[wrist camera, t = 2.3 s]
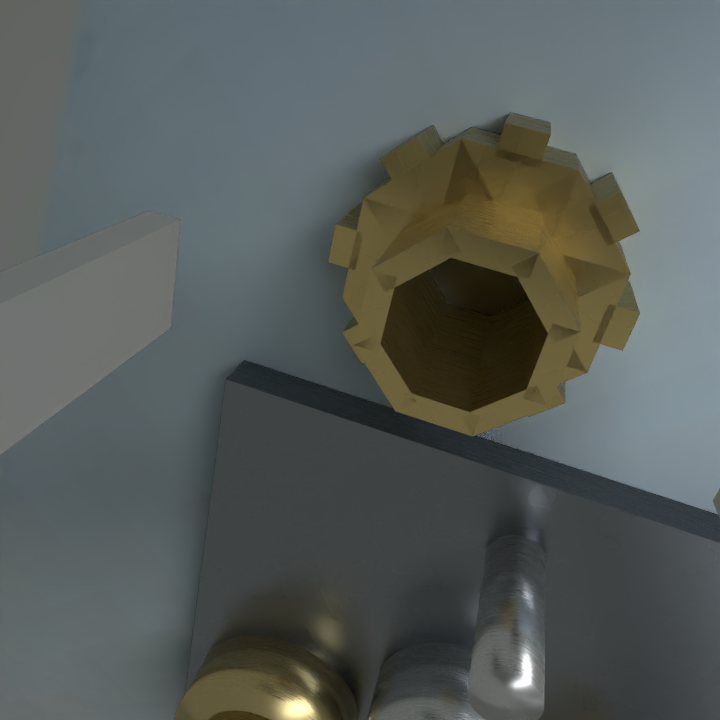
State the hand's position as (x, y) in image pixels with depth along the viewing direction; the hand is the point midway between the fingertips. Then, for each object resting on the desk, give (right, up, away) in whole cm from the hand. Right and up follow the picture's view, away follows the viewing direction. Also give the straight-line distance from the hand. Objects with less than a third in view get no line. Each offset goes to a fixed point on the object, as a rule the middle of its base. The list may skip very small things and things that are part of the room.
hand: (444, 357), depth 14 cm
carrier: (+2, -13, +13) cm, 18 cm away
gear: (+2, +3, +5) cm, 6 cm away
